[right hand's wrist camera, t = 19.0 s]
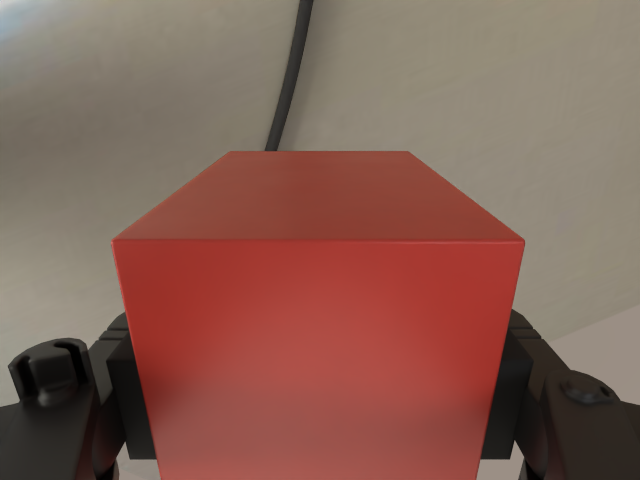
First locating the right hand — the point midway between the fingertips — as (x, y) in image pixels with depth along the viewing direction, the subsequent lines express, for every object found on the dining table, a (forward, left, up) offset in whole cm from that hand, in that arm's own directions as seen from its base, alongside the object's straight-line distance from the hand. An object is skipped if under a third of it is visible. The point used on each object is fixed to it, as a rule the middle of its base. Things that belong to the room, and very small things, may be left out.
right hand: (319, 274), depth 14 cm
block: (0, 0, -3) cm, 3 cm away
